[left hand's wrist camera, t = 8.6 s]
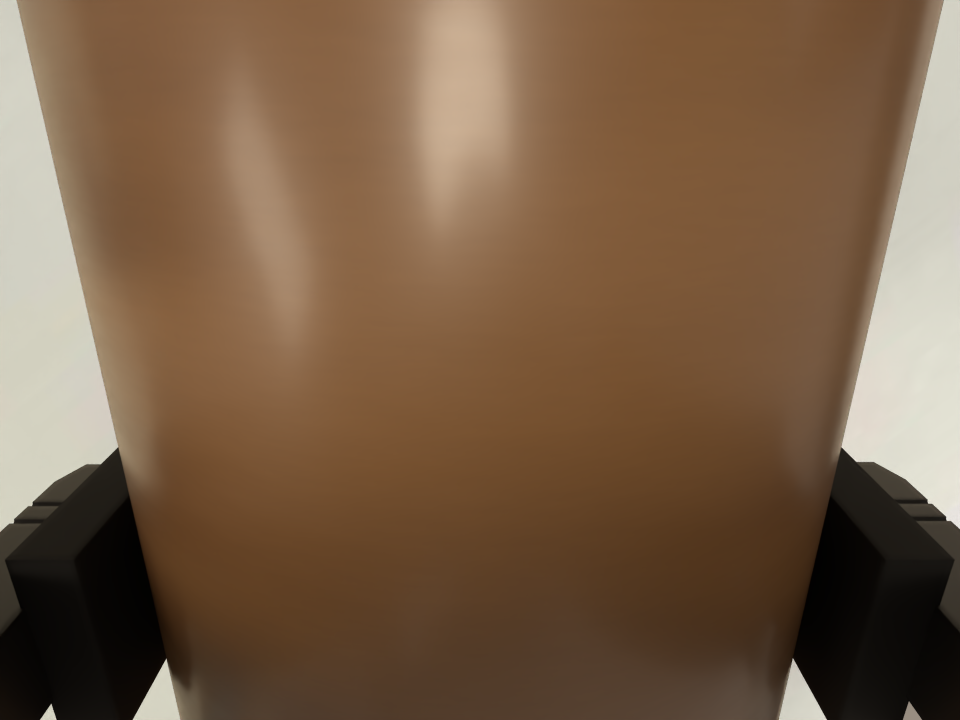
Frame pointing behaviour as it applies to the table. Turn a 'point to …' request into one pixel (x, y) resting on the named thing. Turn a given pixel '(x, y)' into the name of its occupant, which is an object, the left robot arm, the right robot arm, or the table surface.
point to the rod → (479, 334)
